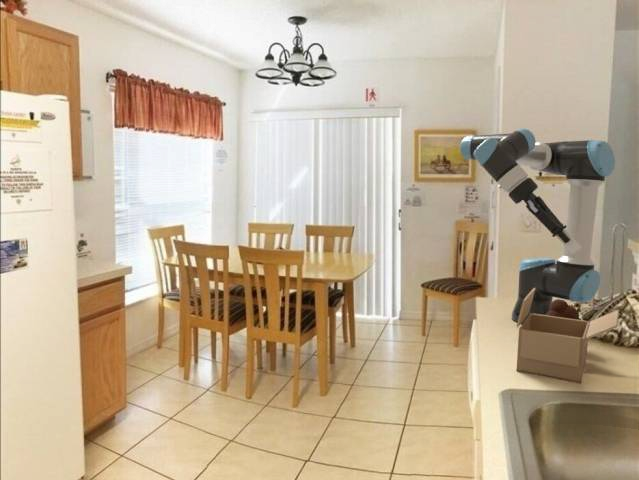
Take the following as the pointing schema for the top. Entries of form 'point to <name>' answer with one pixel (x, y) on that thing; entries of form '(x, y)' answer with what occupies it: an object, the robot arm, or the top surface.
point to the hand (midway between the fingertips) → (577, 250)
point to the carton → (553, 347)
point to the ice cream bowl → (562, 310)
